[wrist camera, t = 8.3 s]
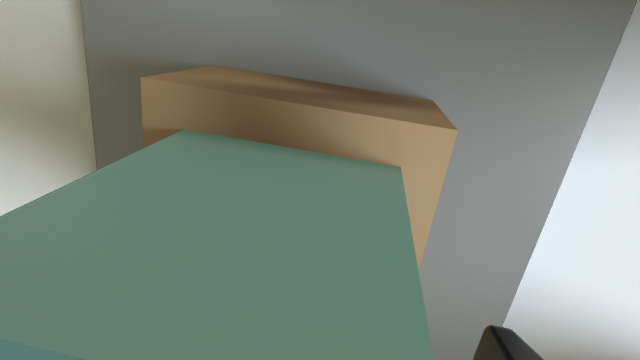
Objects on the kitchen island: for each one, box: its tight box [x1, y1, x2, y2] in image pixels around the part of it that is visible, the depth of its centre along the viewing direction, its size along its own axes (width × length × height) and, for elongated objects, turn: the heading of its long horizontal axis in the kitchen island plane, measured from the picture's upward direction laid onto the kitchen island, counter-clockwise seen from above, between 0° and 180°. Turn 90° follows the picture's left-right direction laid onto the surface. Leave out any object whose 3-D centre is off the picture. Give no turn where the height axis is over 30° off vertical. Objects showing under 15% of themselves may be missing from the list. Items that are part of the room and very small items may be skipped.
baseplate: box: [81, 0, 637, 360], centre depth 13 cm, size 16×16×1 cm
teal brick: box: [0, 129, 433, 360], centre depth 7 cm, size 5×5×6 cm
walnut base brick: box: [141, 65, 458, 271], centre depth 11 cm, size 7×7×4 cm
